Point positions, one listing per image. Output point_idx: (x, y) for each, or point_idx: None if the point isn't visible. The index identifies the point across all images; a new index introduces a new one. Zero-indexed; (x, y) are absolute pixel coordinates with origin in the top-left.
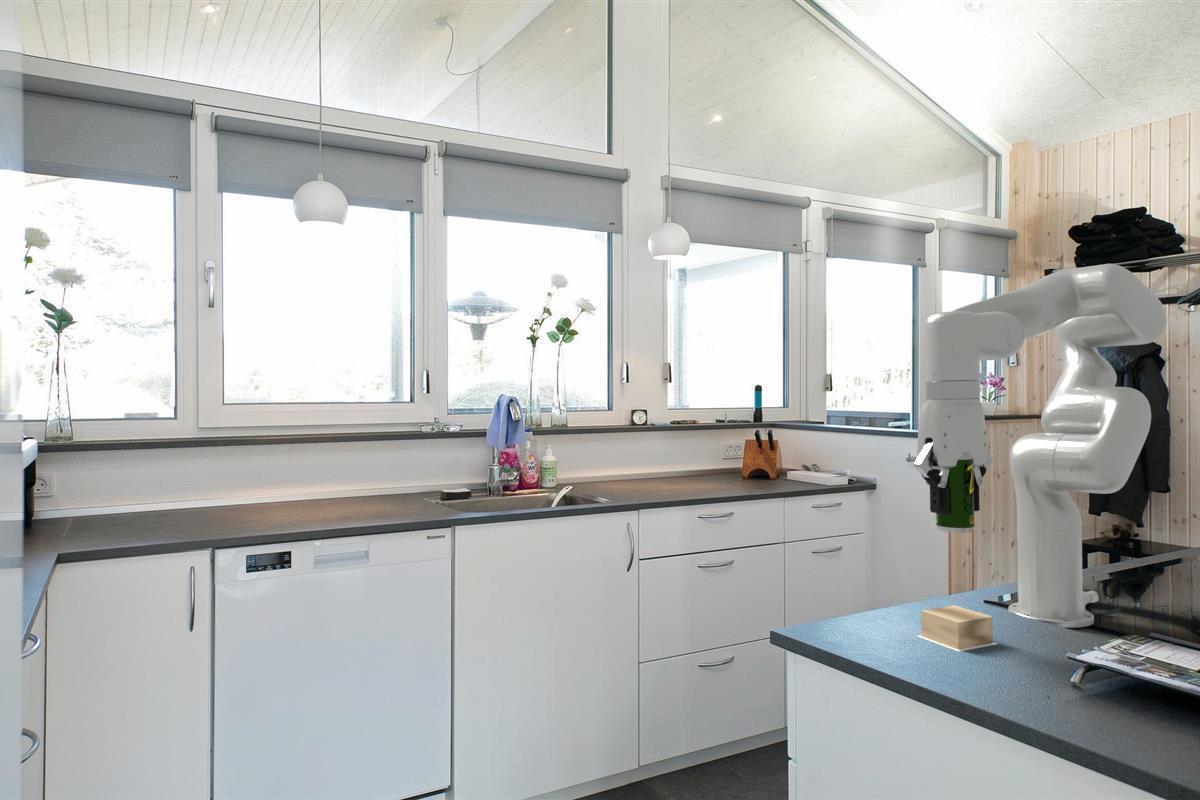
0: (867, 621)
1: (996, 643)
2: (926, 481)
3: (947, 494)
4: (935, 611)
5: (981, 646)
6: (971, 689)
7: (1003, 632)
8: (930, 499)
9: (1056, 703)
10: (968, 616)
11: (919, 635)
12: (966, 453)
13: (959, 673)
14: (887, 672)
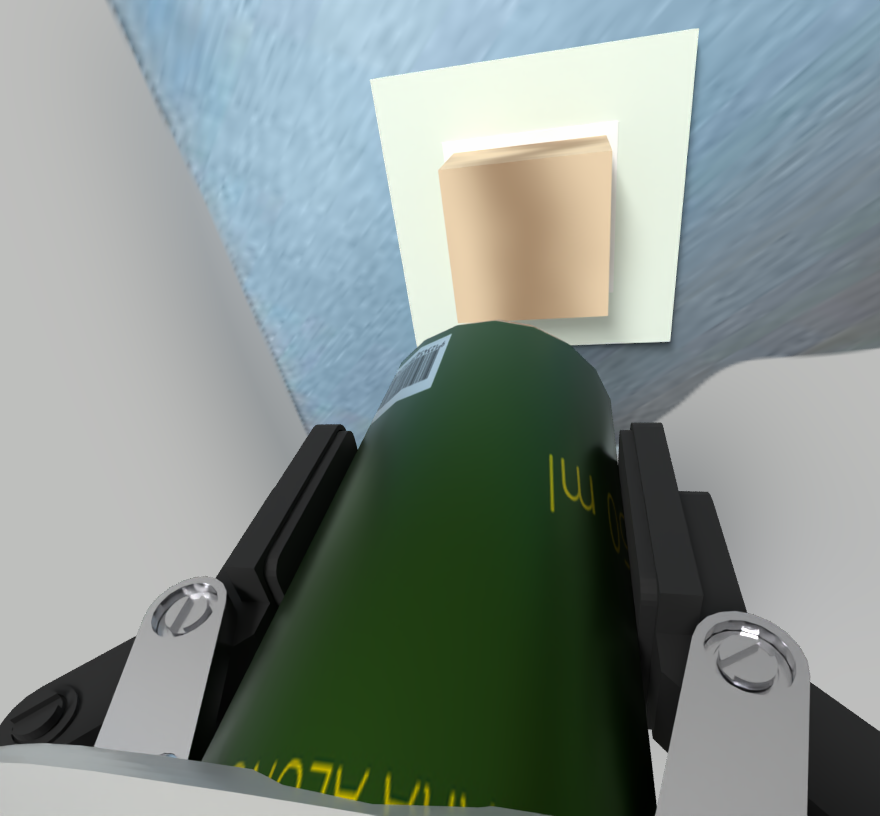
0: None
1: (609, 290)
2: (126, 643)
3: None
4: (479, 197)
5: None
6: (366, 425)
7: (812, 144)
8: (282, 481)
9: None
10: (538, 286)
11: (453, 142)
12: None
13: (399, 362)
14: (254, 302)
